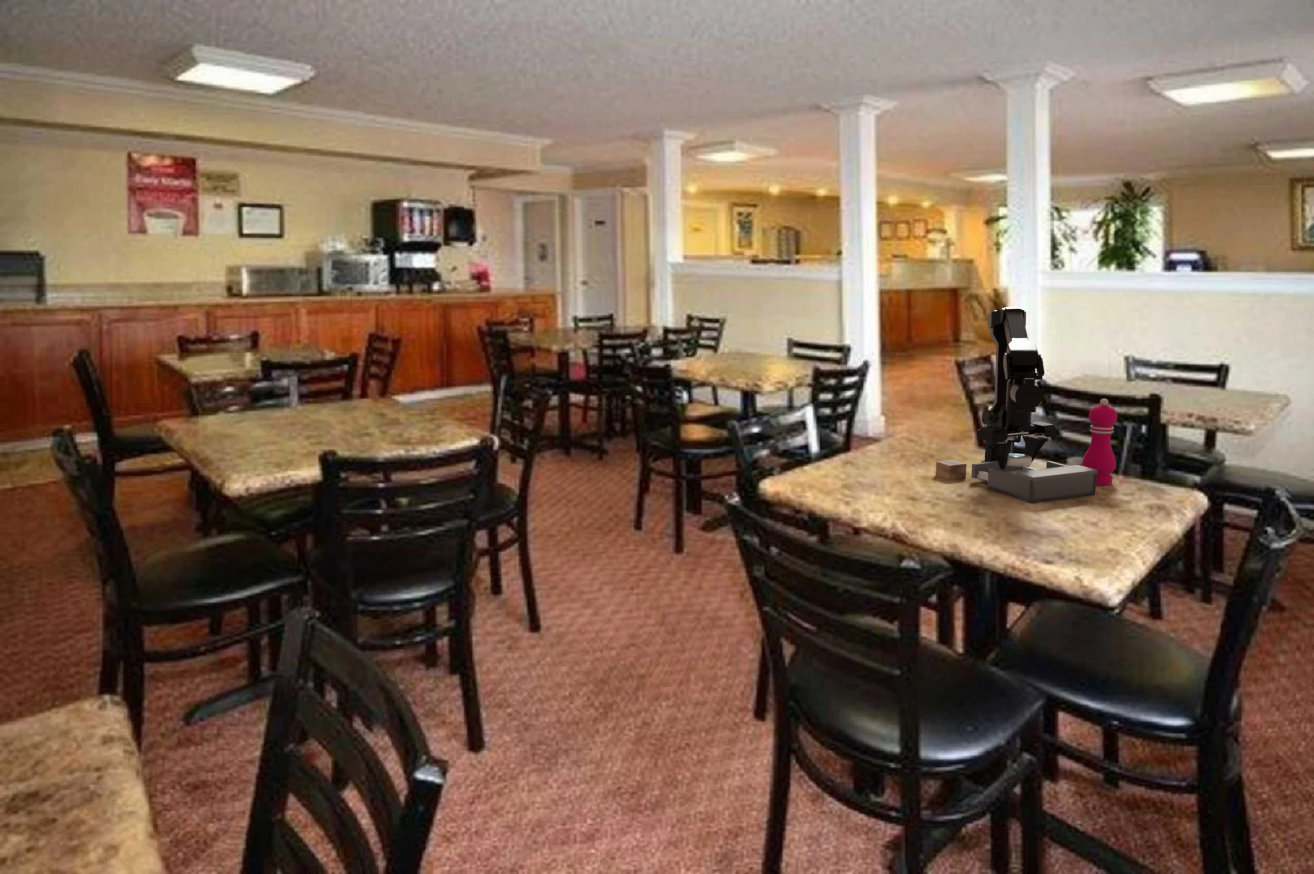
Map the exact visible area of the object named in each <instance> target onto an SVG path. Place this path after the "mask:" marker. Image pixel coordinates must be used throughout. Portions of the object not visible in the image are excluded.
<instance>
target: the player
mask: <svg viewBox="0 0 1314 874" xmlns="http://www.w3.org/2000/svg"><path fill="white" fill-rule="evenodd" d="M1045 465H1046V467H1045V468H1041V469H1040V468H1039V469H1038V468H1037V469H1038V470H1029V471H1020V472H1015V474H1013V473H1010V472H1006V471H1003V470H1000V469H996V468H993V467H990V468H989V470H988V481H987V488H986V489H987V490H990V491H994V492H996V493H999V494H1002V495H1005V496H1008V497H1011V498H1014V499H1016V500H1020V501H1023V502H1026V503H1030V504H1038V503H1044V502H1045V503H1046V502H1053V501H1060V500H1069V499H1076V498H1085V497H1092V496H1096V493H1097V492H1096V490H1097V489H1096V488H1097V485H1096V481H1097V470H1096V469H1092V468H1088V467H1084V466H1082V465H1079V464H1075V465H1067V464H1062V463H1059V462H1056V461H1055V462H1054V461H1051V460H1047V461H1046V464H1045Z"/></svg>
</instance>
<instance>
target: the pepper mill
mask: <svg viewBox="0 0 1314 874" xmlns="http://www.w3.org/2000/svg"><path fill="white" fill-rule="evenodd" d="M1099 404H1100V405H1096V406H1093V407H1092V408H1091V410H1089V413H1088V419H1089V420H1088V421H1090V423H1091V424H1090V426H1089V427H1090V429H1089V431H1090V432H1091V439H1090V444H1089V447H1088V449H1087V450H1086V451H1085V454H1084V455H1083V458H1082V461H1081V466H1084V467H1088V468H1092V469H1096V470H1097V481H1096V486H1109V485H1112V483H1113V475H1112V474H1111V473H1113V472H1114V471H1115V469H1116V468H1117V460H1116V457H1115V454H1114V452H1113V448H1112V443H1111V439H1112V438H1111V437H1112V434H1113V433H1114V432H1115V431H1114V429H1115V427H1114V426H1113V425H1114V424H1116V422H1117V420H1118V412H1117V410H1116V409H1115V408H1113V407H1112V406H1111V405H1109V400H1108V399H1107V398H1101V399H1100V401H1099Z"/></svg>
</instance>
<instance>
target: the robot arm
mask: <svg viewBox="0 0 1314 874" xmlns="http://www.w3.org/2000/svg"><path fill="white" fill-rule="evenodd" d="M1026 326H1027V311H1025V309H1024V308H1022V307H1021V306H1005V307H1002V308H1000V309H998V310H993V311H991V312H990V313H989V314H988V316H987V329H989V337H990V339H992V341H993V343H994V344H995V373H994V374H995V376H994V403H993V404H992V405H991V408H990V409H988V410H987V409H986V410H983V411H982V413H981V423H982V425H983V426H981V427H980V428H979V429H977V433H976V434H977V435H976V436H977V437H976V439H977V440H981V441H984V442H985V443H986V446H985V448H984V460H981V461H980V463H982V462H992V461H998V464H999V467H1000V469H1002V470H1004V469H1005V467H1006V464H1007V459H1008V455H1009V453H1013V454H1015V443H1016V444H1020V442H1022V440H1023V442H1024V455H1028V456H1031V457H1032V462H1031V464H1032V463H1033V461H1034V460H1035V458H1036V456H1037V455H1038V454H1039V453H1040V450H1041V449H1042V448H1043V446H1044V445H1045V444H1046V443H1047V442H1049V440H1050V439H1049V438H1056V437H1057V431H1058V430H1057V427H1056V426H1055V424H1052V423H1049V422H1048V423H1047V422H1043V421H1033V422H1032V413H1036V412H1037V407H1038V406H1039V405H1040V404H1041V402H1042V401H1043V393H1042V390H1041V389H1040V387H1039V386H1038V385H1036V381H1042V380H1043V379H1044V378H1043V377H1045V366H1044V358H1042V354H1041V353H1039V350H1038V348H1037V346H1036V344H1035V343H1033V342H1032V341H1030V340H1029V337H1028V331H1027V328H1026ZM1026 467H1030V466H1026Z"/></svg>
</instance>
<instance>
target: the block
mask: <svg viewBox="0 0 1314 874" xmlns="http://www.w3.org/2000/svg"><path fill="white" fill-rule="evenodd" d="M935 476H937V477H940V478H943V479H945V480H948V481H949V480H959V479H966V478H967V463H965V462H963V461H962V462H961V461H959V460H955V459H947V460H938V461H937V460H936V462H935Z"/></svg>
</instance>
